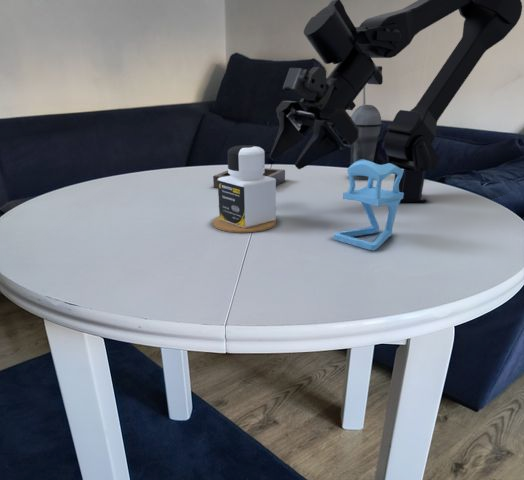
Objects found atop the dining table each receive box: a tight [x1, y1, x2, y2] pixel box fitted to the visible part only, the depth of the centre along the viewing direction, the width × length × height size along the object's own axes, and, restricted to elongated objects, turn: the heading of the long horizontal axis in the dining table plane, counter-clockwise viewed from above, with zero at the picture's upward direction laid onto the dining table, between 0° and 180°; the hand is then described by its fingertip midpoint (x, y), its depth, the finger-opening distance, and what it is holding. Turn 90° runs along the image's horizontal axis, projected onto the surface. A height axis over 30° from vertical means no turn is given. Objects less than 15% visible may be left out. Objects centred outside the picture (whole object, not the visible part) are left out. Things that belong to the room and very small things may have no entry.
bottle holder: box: [212, 167, 286, 189], centre depth 109 cm, size 12×12×2 cm
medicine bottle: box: [217, 144, 277, 228], centre depth 81 cm, size 7×7×12 cm
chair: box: [333, 159, 404, 252], centre depth 73 cm, size 8×8×12 cm
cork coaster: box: [212, 215, 277, 234], centre depth 84 cm, size 11×11×1 cm
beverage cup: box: [350, 85, 383, 181], centre depth 110 cm, size 7×7×20 cm
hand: (283, 162), depth 82 cm, fingers open, 9 cm apart
